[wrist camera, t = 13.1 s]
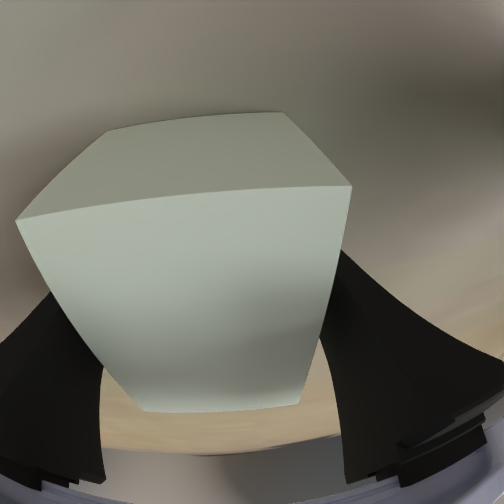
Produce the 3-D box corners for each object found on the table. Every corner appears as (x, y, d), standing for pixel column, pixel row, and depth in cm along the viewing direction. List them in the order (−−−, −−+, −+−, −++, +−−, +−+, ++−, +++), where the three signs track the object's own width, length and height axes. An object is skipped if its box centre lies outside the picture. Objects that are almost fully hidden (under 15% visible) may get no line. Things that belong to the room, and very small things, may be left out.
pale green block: (283, 112, 8) (352, 185, 4) (276, 296, 14) (298, 403, 10) (107, 131, 8) (15, 220, 4) (156, 305, 13) (144, 411, 9)
